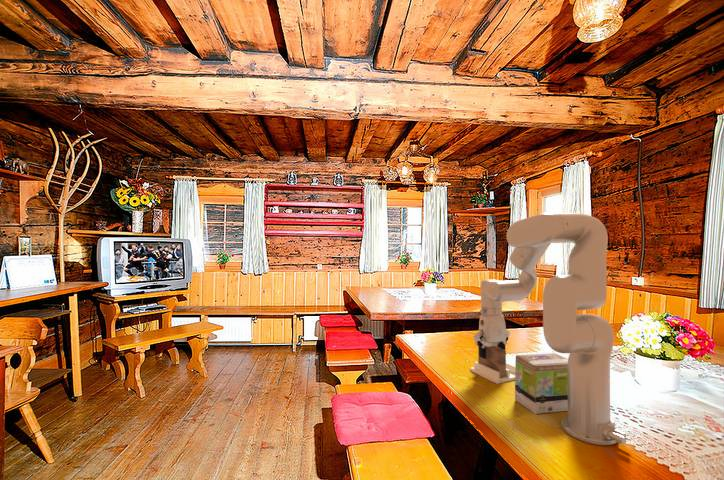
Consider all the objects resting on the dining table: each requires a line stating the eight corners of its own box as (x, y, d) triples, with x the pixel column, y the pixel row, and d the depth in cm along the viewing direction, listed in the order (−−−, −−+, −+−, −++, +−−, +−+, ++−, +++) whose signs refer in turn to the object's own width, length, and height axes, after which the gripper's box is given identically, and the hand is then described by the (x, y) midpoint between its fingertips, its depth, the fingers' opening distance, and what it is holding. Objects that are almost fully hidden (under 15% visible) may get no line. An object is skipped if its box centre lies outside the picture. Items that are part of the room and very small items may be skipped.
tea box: (536, 415, 98) (535, 365, 98) (514, 400, 107) (513, 354, 108) (579, 410, 101) (579, 362, 101) (554, 395, 110) (553, 351, 111)
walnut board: (505, 377, 123) (505, 350, 123) (499, 378, 122) (499, 351, 122) (484, 367, 133) (484, 342, 134) (478, 368, 132) (478, 343, 132)
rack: (524, 377, 125) (524, 368, 125) (496, 383, 120) (496, 374, 120) (496, 365, 138) (496, 356, 138) (470, 370, 133) (470, 361, 133)
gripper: (481, 315, 121) (482, 362, 121) (515, 311, 128) (516, 355, 127) (467, 311, 128) (468, 356, 127) (500, 308, 135) (501, 350, 134)
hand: (492, 356), depth 127 cm, fingers open, 9 cm apart
